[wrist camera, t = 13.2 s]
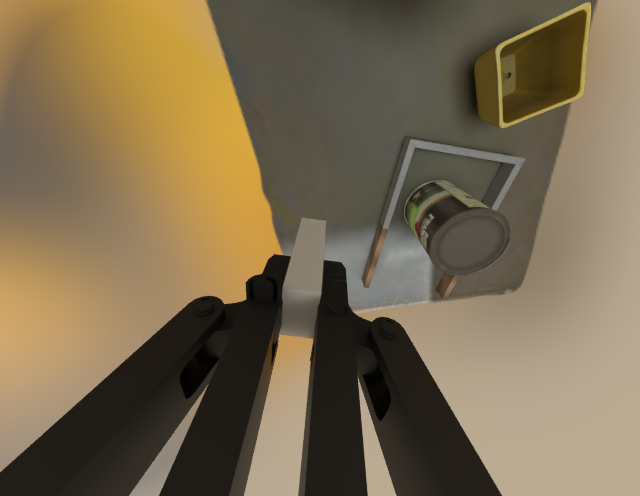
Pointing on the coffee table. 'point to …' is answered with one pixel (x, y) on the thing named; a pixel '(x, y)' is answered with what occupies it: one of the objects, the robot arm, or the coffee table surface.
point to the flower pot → (534, 70)
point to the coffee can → (456, 228)
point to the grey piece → (502, 177)
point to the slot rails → (443, 288)
